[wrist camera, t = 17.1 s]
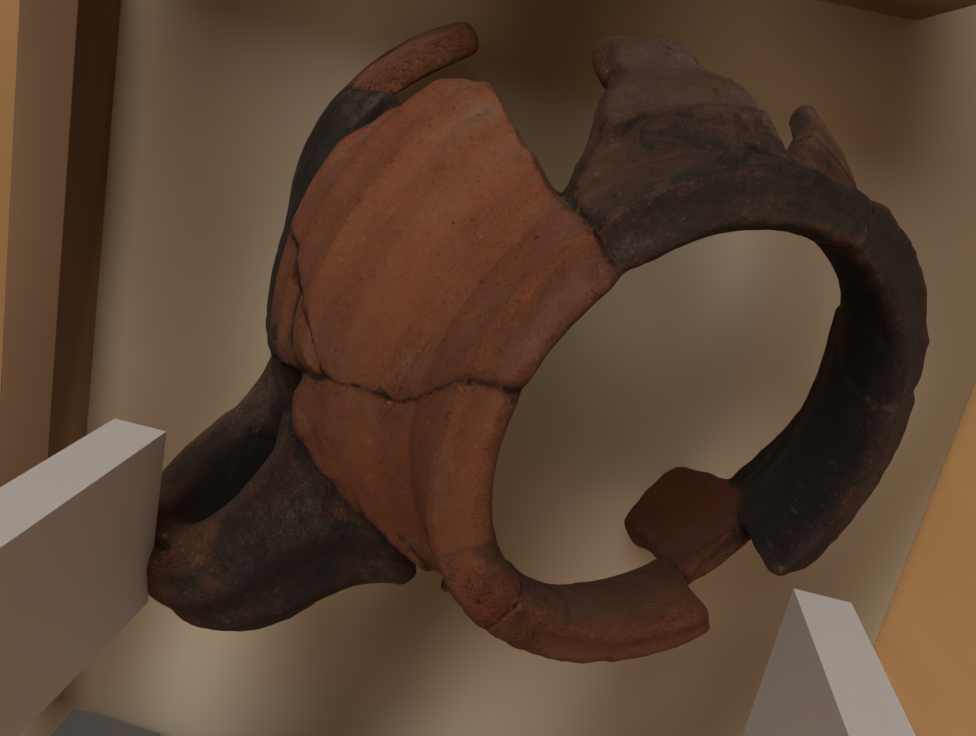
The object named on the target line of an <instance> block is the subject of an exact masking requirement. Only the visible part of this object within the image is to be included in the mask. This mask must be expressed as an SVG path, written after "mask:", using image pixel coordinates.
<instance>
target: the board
mask: <svg viewBox="0 0 976 736" xmlns="http://www.w3.org/2000/svg"><path fill="white" fill-rule="evenodd" d="M457 22H464V23H468V24H470V25H471V26H472V27H473V28H474V30H475V32H476V34H477V36H478V40H479V47H478V50H477V52H476V53H475V54H474V55H472V56H470V57H468V58H466V59H464V60H461V61H459V62H457V63H454V64H452V65H450V66H447V67H445V68H443V69H441V70H439V71H437V72H435V73H432V74H430V75H428V76H426V77H424V78H423V79H421V80H419V81H417V82H415V83H414V84H412V85H410V86H409V87H407V88H405V89H404V90H403V91H401V92H399V93H397V94H396V95H395V96H396V97H397V99H398V101H399V102H400V104H401V105H402V104H403V103H405V102H406V101H407V100H408V99H410V98H411V97H412V96H413V95H415V94H416V93H417V92H419V91H421V90H422V89H424V88H425V87H426V86H428V85H429V84H430V83H432V82H434V81H436V80H439V79H456V78H463V79H467V80H472V81H474V82H488V83H490V84H491V85H492V86H493V87H494V88H495V89H496V91H497V92H498V94H499V96H500V98H501V100H502V102H503V105H504V108H505V110H506V112H507V113H508V115H509V117H510V118H511V119H512V121H513V123H514V125H515V127H516V128H517V130H518V131H519V133H520V135H521V138H522V139H523V141H524V142H525V144H526V145H527V147H528V148H529V150H531V152H532V153H533V154H534V155H535V157H536V158H537V159H538V161H539V163H540V165H541V167H542V168H543V170H544V172H545V174H546V176H547V178H548V180H549V182H550V183H551V185H552V187H553V188H554V189H555V190H556V191H557V192H560V193H562V192H563V191H564V190H565V189H566V187H567V185H568V183H569V181H570V178H571V176H572V173H573V171H574V168H575V166H576V164H577V162H578V161H579V159H580V158H581V156H582V154H583V152H584V149H585V147H586V145H587V142H588V139H589V135H590V131H591V127H592V123H593V119H594V114H595V111H596V108H597V106H598V103H599V100H600V99H601V97H602V95H603V94H604V92H605V91H606V89H605V88H604V87H603V86H602V84H601V83H600V81H599V78H598V76H597V75H596V73H595V70H594V67H593V64H592V55H591V53H592V48H593V47H594V45H595V44H596V43H597V42H598V41H600V40H602V39H605V38H607V37H612V36H651V37H660V36H663V37H668V38H672V39H675V40H677V41H679V42H680V43H681V44H683V45H684V46H685V47H687V48H688V50H689V51H690V52H691V53H692V54H693V55H694V57H695V58H696V59H697V61H698V62H699V63H700V65H701V66H702V67H704V68H705V69H707V70H709V71H712V72H714V73H716V74H719V75H722V76H724V77H727V78H729V79H731V80H732V81H734V82H736V83H737V84H739V85H741V86H742V87H743V88H744V89H745V90H747V92H748V93H749V94H750V95H751V96H752V98H753V99H754V100H755V102H756V103H757V104H758V106H760V107H761V108H762V109H763V110H765V111H766V112H767V113H768V115H769V117H770V118H771V120H772V122H773V124H774V126H775V127H776V130H777V133H778V135H779V137H780V139H781V140H782V142H783V144H784V146H785V148H786V150H787V149H788V147H789V145H790V143H791V141H792V139H793V137H792V132H791V128H790V125H789V121H790V118H791V115H792V114H793V112H794V111H795V110H796V109H797V108H798V107H801V106H804V105H809V106H811V107H813V108H814V109H815V111H816V113H817V114H818V116H819V117H820V119H821V120H822V121H823V123H824V124H825V126H826V127H827V129H828V130H829V132H830V133H831V135H832V136H833V137H834V138H835V140H836V141H837V143H838V145H839V146H840V148H841V150H842V152H843V154H844V156H845V158H846V161H847V164H848V165H849V167H850V169H851V172H852V174H853V177H854V180H855V182H856V186H857V188H858V190H859V191H861V192H862V193H864V194H865V195H866V196H868V197H869V198H870V200H872V201H876V202H878V203H880V204H883V205H884V206H886V207H887V208H889V210H890V211H891V213H892V214H893V216H894V218H895V219H896V221H897V223H898V225H899V227H900V228H901V229H902V230H904V232H905V233H906V234H907V236H908V237H909V239H910V240H911V242H912V246H913V247H914V248H915V250H916V253H917V259H918V262H919V264H920V266H921V268H922V272H923V276H924V280H925V284H926V287H927V317H926V322H927V329H928V336H929V340H930V343H929V345H928V347H927V350H926V355H925V360H924V367H923V371H922V375H921V378H920V380H919V383H918V384H917V386H916V387H915V389H914V391H913V392H914V396H915V403H914V406H913V409H912V411H911V414H910V417H909V421H908V424H907V427H906V430H905V433H904V435H903V438H902V440H901V443H900V446H899V447H898V449H897V450H896V452H895V454H894V457H893V459H892V461H891V462H890V464H889V466H888V467H887V469H886V470H885V472H884V474H883V475H882V478H881V480H880V482H879V484H878V485H877V486H876V488H875V489H874V491H873V492H872V494H871V495H870V497H869V498H868V499H867V501H866V502H865V503H864V504H863V505H862V507H861V508H860V509H859V511H858V512H857V514H856V516H855V517H854V519H853V521H852V522H851V523H850V524H849V525H848V526H847V527H846V528H845V530H844V531H843V532H842V533H841V534H840V535H839V537H838V539H837V540H835V541H834V542H833V543H831V544H830V545H829V547H828V548H827V549H826V550H825V552H824V553H823V554H822V555H821V556H820V557H819V558H818V559H817V560H816V561H815V562H813V563H812V564H811V565H809V566H808V567H807V568H805V569H802V570H799V571H795V572H791V573H788V574H786V575H783V576H777V575H775V574H773V573H772V572H770V571H769V570H768V569H767V568H766V566H765V564H764V562H763V560H762V558H761V556H760V554H759V553H758V552H757V550H756V549H755V547H754V545H753V543H752V540H749V541H748V542H747V543H746V544H745V545H744V546H743V547H742V548H740V549H739V550H738V551H736V552H735V553H734V554H733V555H732V556H731V557H729V558H728V559H727V560H726V561H725V562H723V563H722V564H721V565H720V566H718V567H717V568H716V569H714V570H713V571H711V572H710V573H708V574H706V575H704V576H702V577H700V578H698V579H696V580H695V581H693V582H692V583H691V584H689V585H688V587H689V588H690V589H691V590H692V592H693V593H694V594H695V595H696V596H697V597H698V598H699V599H700V600H701V601H702V602H703V604H704V605H705V606H706V608H707V610H708V614H709V625H710V628H709V630H708V631H707V632H706V633H705V634H703V635H701V636H700V637H698V638H696V639H694V640H692V641H690V642H688V643H686V644H683V645H681V646H679V647H677V648H673V649H669V650H667V651H662V652H658V653H655V654H652V655H648V656H645V657H640V658H634V659H627V660H621V661H616V662H607V661H598V662H592V663H584V664H581V663H572V662H568V661H558V660H554V659H547V658H545V657H543V656H539V655H535V654H532V653H529V652H527V651H525V650H520V649H516V648H514V647H512V646H510V645H509V644H508V643H506V642H505V641H503V640H501V639H498V638H495V637H494V636H493V635H491V634H490V633H489V632H488V631H487V630H485V629H483V628H480V627H478V626H477V625H476V624H475V623H474V622H473V621H472V620H471V619H470V618H469V617H468V616H467V615H466V614H465V613H464V610H463V608H462V607H461V606H460V605H459V604H458V603H457V602H456V601H455V600H454V598H453V596H452V595H451V594H449V593H446V592H444V591H443V590H442V589H441V583H442V580H443V576H442V575H441V574H440V573H438V572H437V571H424V570H422V569H420V568H418V567H417V566H416V575H415V577H414V578H413V579H412V580H410V581H409V582H407V583H406V584H403V585H398V584H391V583H370V584H363V585H357V586H353V587H350V588H347V589H344V590H342V591H339V592H337V593H335V594H333V595H330V596H328V597H325V598H323V599H321V600H319V601H317V602H316V603H314V604H313V605H312V606H310V607H309V608H307V609H305V610H303V611H301V612H300V613H298V614H296V615H295V616H293V617H292V618H290V619H287V620H284V621H281V622H279V623H276V624H273V625H271V626H268V627H264V628H261V629H257V630H250V631H242V632H238V631H217V630H210V629H205V628H200V627H196V626H194V625H191V624H189V623H187V622H185V621H183V620H182V619H181V618H180V617H178V616H177V615H176V614H175V613H174V612H173V611H172V609H170V608H168V607H166V606H164V605H162V604H161V603H159V602H157V601H156V600H154V599H153V598H152V597H151V596H150V595H149V596H148V603H147V604H146V605H145V606H144V607H143V608H142V609H141V610H140V611H139V612H138V613H137V614H136V615H135V616H134V617H133V618H132V619H131V620H130V621H129V622H128V623H127V624H126V625H125V626H124V628H123V629H122V630H121V631H120V632H119V633H118V634H117V635H116V636H115V637H114V638H113V639H112V640H111V641H110V642H109V643H108V644H107V645H106V646H105V647H104V648H103V649H102V650H101V651H100V652H99V653H98V654H97V656H96V657H95V658H94V659H93V660H92V661H91V662H90V663H89V664H88V665H87V666H86V667H85V668H84V669H83V670H82V671H81V672H80V673H79V674H78V675H77V676H76V677H75V678H74V679H73V680H72V681H71V682H70V684H69V685H68V686H67V687H66V688H65V689H64V690H63V691H62V692H61V693H60V694H59V695H58V696H57V697H56V698H55V699H54V700H53V701H52V702H51V703H50V704H49V705H48V706H47V707H46V708H45V709H44V710H43V712H42V713H41V714H40V715H39V716H38V717H37V718H36V719H35V720H34V721H33V722H32V723H31V724H30V725H29V726H28V727H27V728H26V729H25V730H24V731H23V732H22V733H21V734H20V735H19V736H51V734H52V733H53V732H54V731H55V730H56V729H57V728H58V726H59V725H60V724H61V723H62V722H63V721H64V719H65V718H66V717H67V716H68V715H69V714H70V712H71V711H72V710H73V709H74V708H76V709H79V710H82V711H86V712H89V713H92V714H96V715H99V716H103V717H106V718H109V719H113V720H116V721H119V722H123V723H126V724H130V725H133V726H136V727H140V728H143V729H146V730H150V731H153V732H156V733H160V736H743V733H744V731H745V728H746V725H747V722H748V719H749V716H750V713H751V710H752V707H753V704H754V701H755V699H756V696H757V693H758V690H759V687H760V684H761V681H762V678H763V675H764V672H765V670H766V667H767V664H768V661H769V658H770V655H771V652H772V649H773V646H774V643H775V641H776V638H777V635H778V632H779V629H780V626H781V623H782V620H783V617H784V614H785V611H786V609H787V606H788V603H789V600H790V597H791V594H792V591H793V588H794V589H798V590H802V591H806V592H810V593H814V594H818V595H822V596H826V597H830V598H834V599H838V600H842V601H846V602H850V603H852V605H853V607H854V609H855V611H856V613H857V615H858V617H859V619H860V622H861V624H862V626H863V628H864V630H865V632H866V634H867V636H868V638H869V640H870V642H871V644H872V646H873V647H874V644H875V641H876V639H877V636H878V634H879V631H880V628H881V626H882V623H883V621H884V618H885V615H886V613H887V610H888V608H889V605H890V602H891V600H892V597H893V595H894V592H895V589H896V587H897V584H898V582H899V579H900V576H901V574H902V571H903V568H904V566H905V563H906V561H907V558H908V555H909V553H910V550H911V548H912V545H913V542H914V540H915V537H916V535H917V532H918V529H919V527H920V524H921V522H922V519H923V516H924V514H925V511H926V509H927V506H928V503H929V501H930V498H931V496H932V493H933V490H934V488H935V485H936V483H937V480H938V477H939V475H940V472H941V470H942V467H943V464H944V462H945V459H946V457H947V454H948V451H949V449H950V446H951V444H952V441H953V438H954V436H955V433H956V431H957V428H958V425H959V423H960V420H961V417H962V415H963V412H964V410H965V407H966V404H967V402H968V399H969V397H970V394H971V391H972V389H973V386H974V384H975V381H976V0H20V10H19V31H18V51H17V71H16V91H15V112H14V132H13V152H12V172H11V193H10V213H9V233H8V254H7V274H6V294H5V314H4V335H3V355H2V375H1V395H0V487H2V486H3V485H5V484H7V483H8V482H10V481H12V480H13V479H15V478H17V477H18V476H20V475H22V474H23V473H25V472H27V471H28V470H30V469H32V468H33V467H35V466H36V465H38V464H40V463H41V462H43V461H45V460H46V459H48V458H50V457H51V456H53V455H55V454H56V453H58V452H60V451H61V450H63V449H65V448H66V447H68V446H70V445H71V444H73V443H75V442H76V441H78V440H80V439H81V438H83V437H85V436H86V435H88V434H90V433H91V432H93V431H95V430H96V429H98V428H100V427H101V426H103V425H105V424H106V423H108V422H110V421H111V420H113V419H114V418H115V419H119V420H123V421H127V422H131V423H135V424H139V425H143V426H147V427H151V428H155V429H159V430H163V431H166V440H165V449H164V458H163V467H162V471H163V470H164V469H165V468H166V467H167V466H168V464H169V463H170V462H171V461H172V460H173V459H174V458H175V457H176V456H177V455H178V454H179V453H180V451H181V450H182V449H183V448H184V447H185V446H187V445H188V444H189V443H190V442H191V441H193V440H194V439H195V438H196V437H197V436H198V435H199V434H200V433H202V432H203V431H204V430H205V429H207V428H208V427H209V426H210V425H212V424H213V423H214V422H215V421H216V420H217V419H218V418H220V417H221V416H222V415H224V414H225V413H226V412H228V411H230V410H231V409H233V408H234V407H236V406H237V405H238V404H239V403H240V401H241V400H242V399H243V398H244V397H245V396H246V395H247V394H248V392H249V391H250V389H251V388H252V387H253V386H254V384H255V383H256V382H257V381H258V379H259V378H260V376H261V375H262V373H263V371H264V370H265V368H266V365H267V363H268V361H269V359H270V357H271V352H270V349H269V347H268V342H267V331H266V316H267V301H268V293H269V287H270V279H271V273H272V269H273V265H274V260H275V257H276V253H277V250H278V245H279V241H280V238H281V235H282V232H283V230H284V225H285V219H286V215H287V211H288V205H289V198H290V191H291V186H292V181H293V177H294V174H295V171H296V167H297V163H298V160H299V157H300V155H301V152H302V150H303V147H304V145H305V143H306V141H307V139H308V137H309V135H310V134H311V132H312V130H313V128H314V126H315V124H316V122H317V121H318V119H319V117H320V116H321V114H322V113H323V112H324V110H325V109H326V107H327V106H328V104H329V103H330V102H331V101H332V99H333V98H334V97H335V96H336V95H337V94H338V93H339V92H340V91H341V90H342V89H343V88H344V87H345V86H346V85H347V84H348V83H349V82H350V81H351V80H352V79H353V78H354V77H355V76H356V75H358V74H359V73H360V72H361V71H362V70H363V69H364V68H365V67H367V66H368V65H369V64H371V63H372V62H373V61H375V60H376V59H378V58H379V57H380V56H382V55H383V54H385V53H386V52H387V51H389V50H391V49H393V48H394V47H396V46H398V45H400V44H402V43H404V42H405V41H406V40H408V39H410V38H412V37H414V36H417V35H419V34H421V33H424V32H426V31H428V30H431V29H434V28H438V27H441V26H445V25H448V24H452V23H457ZM840 297H841V291H840V287H839V282H838V278H837V275H836V273H835V271H834V269H833V267H832V265H831V263H830V261H829V260H828V258H827V257H826V256H825V254H824V253H823V251H822V250H821V249H820V248H819V247H818V245H817V244H816V243H815V242H814V241H811V240H810V239H808V238H806V237H803V236H799V235H795V234H792V233H789V232H784V231H775V230H744V231H735V232H727V233H722V234H717V235H713V236H709V237H706V238H703V239H700V240H697V241H694V242H692V243H689V244H687V245H685V246H682V247H680V248H677V249H675V250H673V251H670V252H669V253H667V254H665V255H663V256H661V257H659V258H657V259H656V260H653V261H651V262H648V263H646V264H643V265H641V266H639V267H636V268H634V269H631V270H629V271H627V272H626V273H624V274H623V275H622V276H621V277H620V278H619V280H618V281H617V282H616V284H615V285H614V286H613V288H612V289H611V290H610V291H609V292H608V293H606V294H605V295H604V296H603V297H602V298H601V299H600V300H598V301H597V302H596V303H595V304H594V305H593V306H592V307H591V308H590V309H589V310H588V311H587V312H586V313H585V314H584V315H583V316H582V317H581V318H580V319H579V320H578V321H577V322H576V323H575V324H574V325H572V327H571V328H570V329H569V330H568V331H567V332H566V333H565V335H564V336H563V337H562V338H561V339H560V340H559V341H558V343H557V344H556V345H555V346H554V347H553V348H552V349H551V350H550V352H549V353H548V354H547V356H546V357H545V359H544V360H543V362H542V363H541V365H540V367H539V368H538V370H537V371H536V372H535V374H534V376H533V377H532V379H531V380H530V382H529V383H528V384H526V386H525V387H524V388H523V389H522V390H521V393H520V396H519V399H518V402H517V405H516V407H515V410H514V412H513V415H512V417H511V419H510V421H509V424H508V426H507V429H506V432H505V435H504V438H503V441H502V444H501V447H500V450H499V453H498V459H497V465H496V469H495V474H494V480H493V490H492V521H493V527H494V531H495V535H496V539H497V544H498V546H499V548H500V550H501V552H502V554H503V556H504V558H505V560H508V561H509V562H511V563H512V564H513V565H514V566H515V568H516V569H517V570H518V571H520V572H521V573H522V574H523V575H525V576H528V577H530V578H532V579H535V580H538V581H541V582H544V583H548V584H558V585H559V584H572V583H577V582H590V581H595V580H600V579H605V578H609V577H612V576H616V575H619V574H623V573H626V572H629V571H632V570H634V569H636V568H639V567H641V566H644V565H646V564H648V563H649V562H651V561H653V560H655V559H657V558H655V557H654V555H653V554H652V553H651V552H649V551H648V550H646V549H644V548H640V547H638V546H637V545H635V544H634V543H633V542H632V540H631V539H630V537H629V535H628V533H627V531H626V528H625V524H624V520H625V518H626V516H627V514H628V513H629V511H630V510H631V508H632V507H633V506H634V505H635V504H636V503H637V502H638V501H639V499H640V498H641V497H642V495H643V494H644V492H645V491H646V490H647V489H648V488H649V487H651V486H652V485H653V484H654V483H655V482H656V481H657V480H658V479H659V478H660V477H661V476H662V475H663V474H664V473H666V472H667V471H669V470H671V469H673V468H675V467H687V468H690V469H693V470H697V471H702V472H708V473H711V474H714V475H715V476H717V477H719V478H723V479H730V478H732V477H733V476H734V475H735V474H736V472H737V471H738V470H739V469H740V468H742V467H743V466H744V465H746V464H747V463H748V462H750V461H751V460H752V459H753V458H754V457H755V456H756V455H757V454H758V453H759V452H760V451H761V450H762V449H763V448H765V447H766V446H767V445H768V444H769V443H770V442H771V441H772V440H773V439H775V438H776V436H777V435H778V434H779V433H781V432H782V431H783V430H784V429H785V427H786V426H787V425H788V424H789V423H790V421H791V420H792V419H793V417H794V416H795V414H796V413H797V412H799V411H800V409H801V407H802V405H803V404H804V402H805V400H806V398H807V396H808V393H809V391H810V389H811V386H812V384H813V382H814V380H815V378H816V375H817V373H818V369H819V366H820V363H821V360H822V357H823V354H824V351H825V347H826V343H827V340H828V334H829V331H830V328H831V324H832V320H833V317H834V313H835V310H836V308H837V307H838V306H839V305H840Z"/></svg>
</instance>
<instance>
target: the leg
mask: <svg viewBox="0 0 976 736" xmlns="http://www.w3.org/2000/svg"><path fill="white" fill-rule="evenodd" d="M51 736H160V733H156V732H153V731H150V730H146V729H143V728H140V727H136V726H133V725H130V724H126V723H123V722H119V721H116V720H113V719H109V718H106V717H103V716H99V715H96V714H92V713H89V712H86V711H82V710H79V709H76V708H74V709H73V710H72V711H71V712H70V714H69V715H68V716H67V717H66V718H65V719H64V721H63V722H62V723H61V724H60V725H59V726H58V728H57V729H56V730H55V731H54V732H53V733H52V734H51Z"/></svg>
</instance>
